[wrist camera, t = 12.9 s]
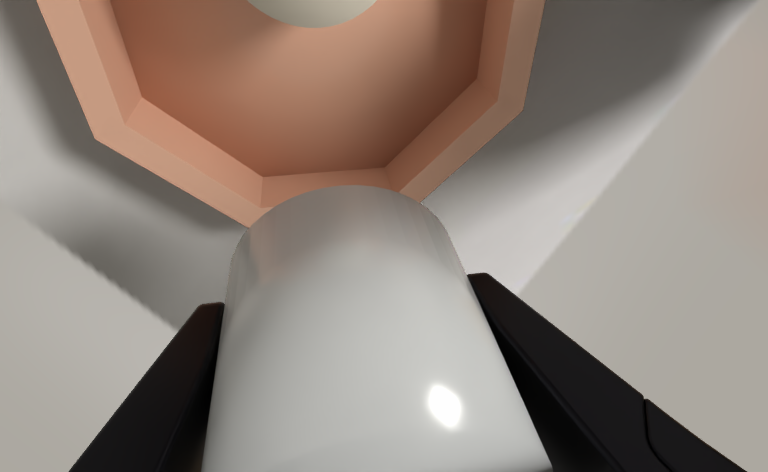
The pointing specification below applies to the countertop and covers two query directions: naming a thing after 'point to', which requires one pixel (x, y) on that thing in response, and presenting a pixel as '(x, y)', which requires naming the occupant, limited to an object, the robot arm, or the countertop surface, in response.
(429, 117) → the bowl
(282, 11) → the pebble sand
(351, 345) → the pebble grey
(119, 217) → the countertop surface
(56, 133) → the countertop surface
